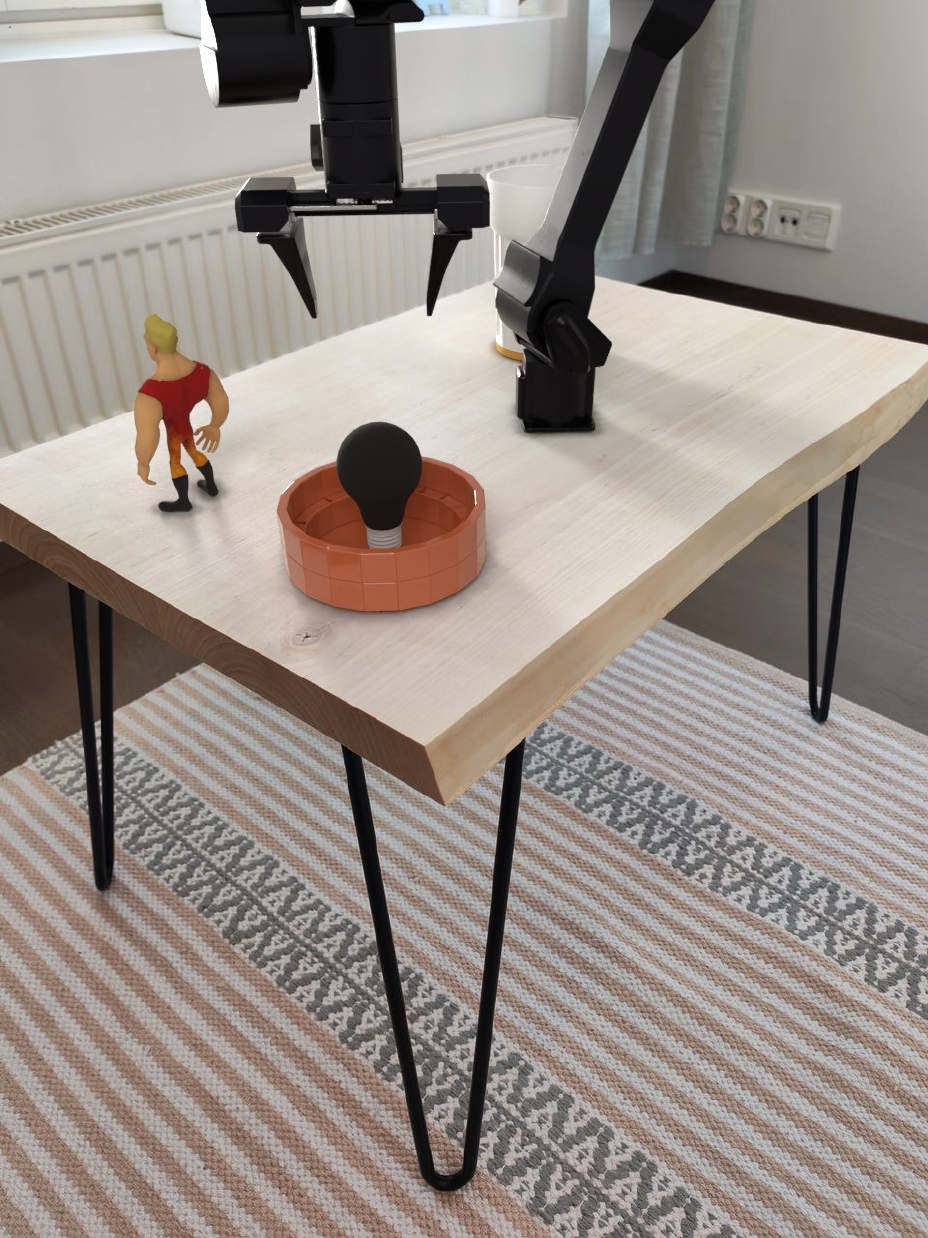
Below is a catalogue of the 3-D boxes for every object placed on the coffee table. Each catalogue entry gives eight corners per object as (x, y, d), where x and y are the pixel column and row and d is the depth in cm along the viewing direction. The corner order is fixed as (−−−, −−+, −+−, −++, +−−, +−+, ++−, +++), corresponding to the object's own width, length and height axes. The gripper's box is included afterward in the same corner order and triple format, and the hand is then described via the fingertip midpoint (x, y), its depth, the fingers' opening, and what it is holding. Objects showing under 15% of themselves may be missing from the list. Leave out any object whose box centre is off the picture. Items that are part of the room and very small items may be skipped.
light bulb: (415, 579, 68) (408, 447, 62) (334, 571, 69) (320, 440, 63) (434, 537, 73) (429, 410, 67) (358, 529, 74) (347, 405, 68)
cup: (522, 322, 113) (526, 159, 103) (608, 342, 107) (621, 171, 97) (465, 352, 105) (463, 178, 95) (554, 374, 100) (562, 192, 90)
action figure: (216, 471, 83) (184, 293, 74) (248, 481, 82) (219, 300, 73) (132, 519, 77) (86, 330, 68) (165, 531, 75) (123, 339, 66)
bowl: (480, 509, 77) (480, 451, 74) (490, 614, 65) (490, 550, 63) (297, 514, 77) (290, 456, 74) (274, 620, 65) (264, 556, 62)
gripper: (483, 81, 77) (483, 283, 86) (244, 85, 76) (269, 287, 85) (490, 102, 67) (489, 326, 76) (219, 107, 67) (250, 331, 76)
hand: (372, 315), depth 79 cm, fingers open, 9 cm apart
